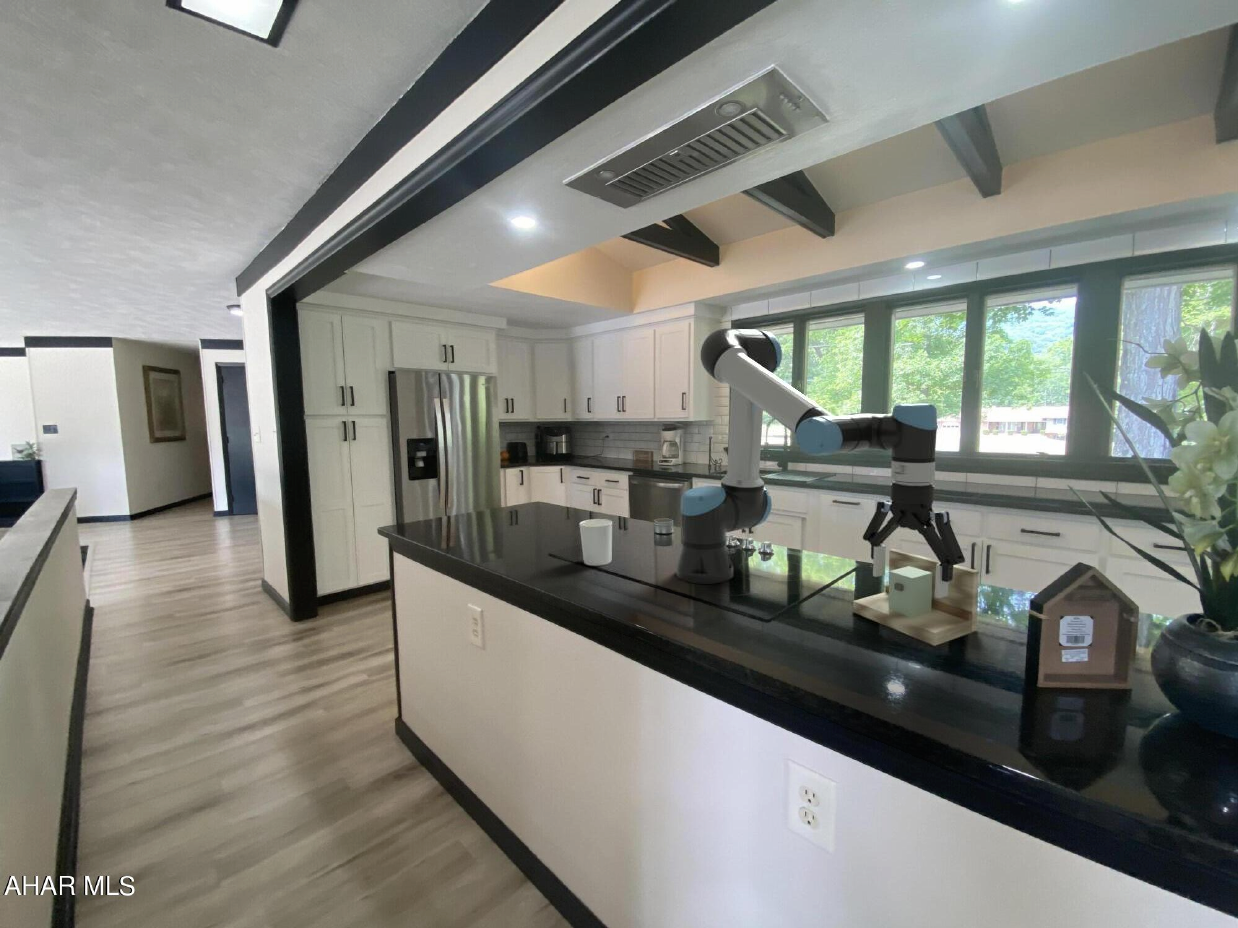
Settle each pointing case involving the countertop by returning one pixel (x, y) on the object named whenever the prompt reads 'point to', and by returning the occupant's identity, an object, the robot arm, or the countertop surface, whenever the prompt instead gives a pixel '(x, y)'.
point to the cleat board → (946, 613)
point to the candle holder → (596, 541)
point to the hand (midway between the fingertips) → (908, 585)
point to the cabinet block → (910, 591)
